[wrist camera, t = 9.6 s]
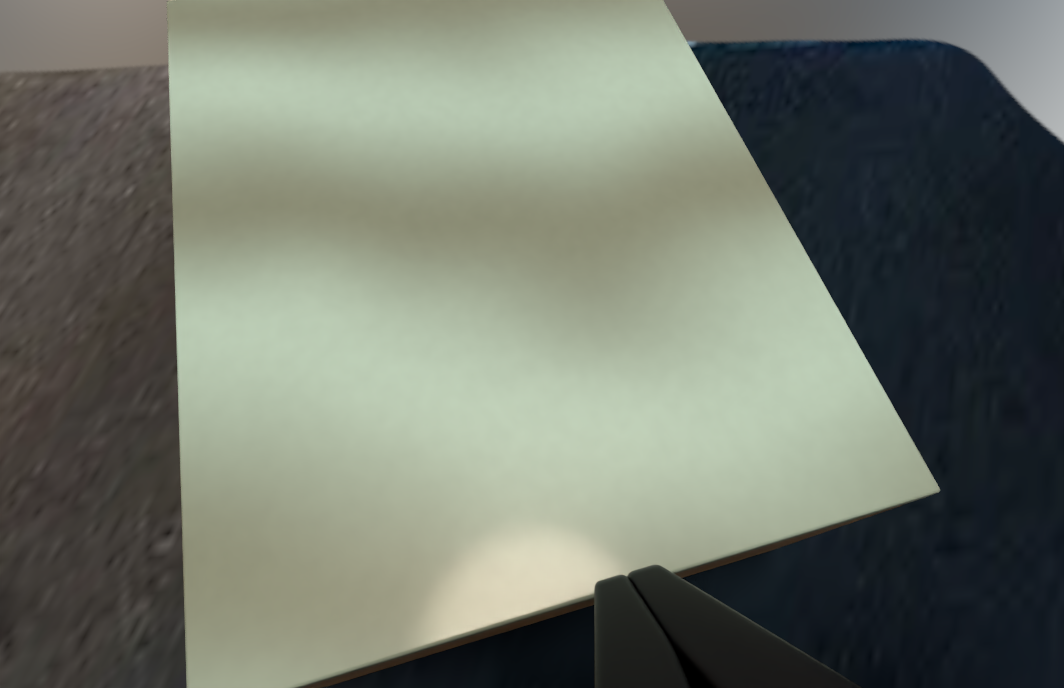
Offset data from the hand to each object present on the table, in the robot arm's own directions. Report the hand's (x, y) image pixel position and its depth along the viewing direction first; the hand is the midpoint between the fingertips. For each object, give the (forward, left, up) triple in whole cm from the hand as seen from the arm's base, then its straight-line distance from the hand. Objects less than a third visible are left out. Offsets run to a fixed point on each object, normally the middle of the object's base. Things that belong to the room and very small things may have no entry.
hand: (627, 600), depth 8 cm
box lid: (+3, +8, -3) cm, 9 cm away
